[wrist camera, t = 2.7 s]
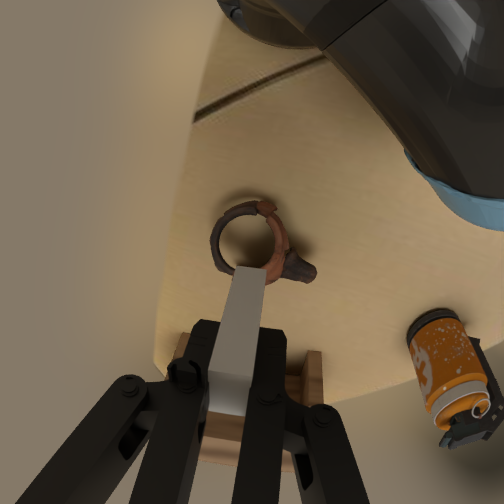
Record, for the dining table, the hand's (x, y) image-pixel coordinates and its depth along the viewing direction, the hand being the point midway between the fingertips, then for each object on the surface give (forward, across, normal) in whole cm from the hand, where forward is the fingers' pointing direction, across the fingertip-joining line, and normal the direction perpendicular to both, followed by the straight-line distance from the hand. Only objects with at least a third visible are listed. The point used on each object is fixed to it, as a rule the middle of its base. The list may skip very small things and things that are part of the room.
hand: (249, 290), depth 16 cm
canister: (+21, +28, -19) cm, 40 cm away
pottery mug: (+21, +1, -10) cm, 23 cm away
